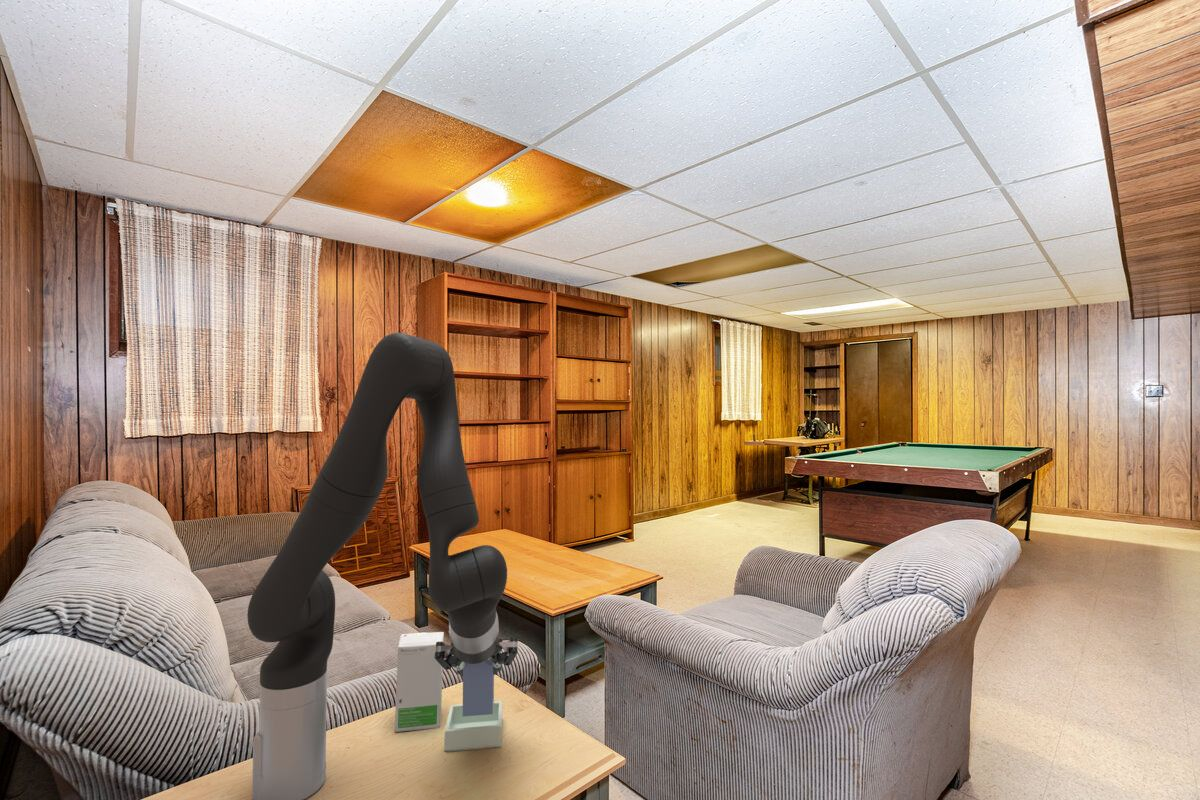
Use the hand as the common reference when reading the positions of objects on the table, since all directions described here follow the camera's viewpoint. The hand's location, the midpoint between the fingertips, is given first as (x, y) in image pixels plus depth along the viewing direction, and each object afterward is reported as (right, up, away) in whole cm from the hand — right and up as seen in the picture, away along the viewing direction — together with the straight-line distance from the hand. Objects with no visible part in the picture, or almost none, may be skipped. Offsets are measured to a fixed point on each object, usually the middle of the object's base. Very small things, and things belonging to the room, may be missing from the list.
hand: (479, 669), depth 98 cm
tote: (-1, -13, +1) cm, 13 cm away
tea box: (0, -6, -2) cm, 6 cm away
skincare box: (-13, -13, +6) cm, 19 cm away
